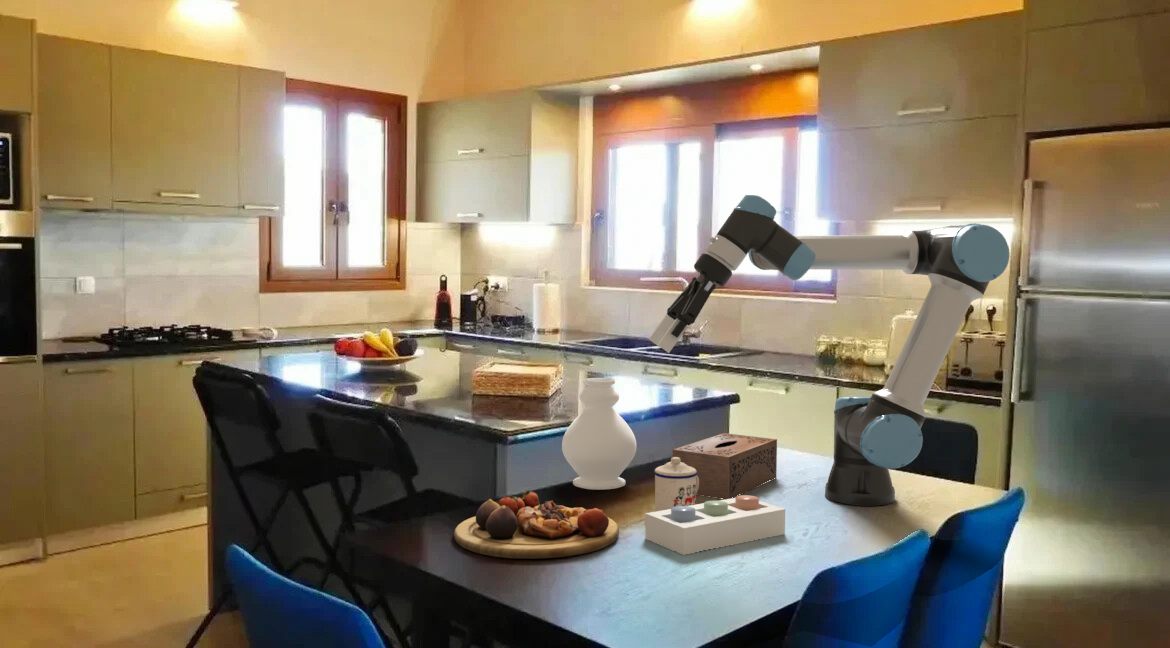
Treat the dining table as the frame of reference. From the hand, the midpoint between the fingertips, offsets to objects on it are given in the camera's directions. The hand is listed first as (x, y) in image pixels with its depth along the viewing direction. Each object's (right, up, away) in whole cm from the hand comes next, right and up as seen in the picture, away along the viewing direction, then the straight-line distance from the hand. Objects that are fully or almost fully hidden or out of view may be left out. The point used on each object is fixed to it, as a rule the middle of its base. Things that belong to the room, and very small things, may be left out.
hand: (658, 346), depth 199 cm
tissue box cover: (+19, -34, +32) cm, 50 cm away
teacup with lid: (+5, -36, +8) cm, 37 cm away
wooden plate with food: (-24, -37, -11) cm, 46 cm away
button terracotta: (+17, -34, -7) cm, 39 cm away
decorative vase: (-12, -34, +33) cm, 49 cm away
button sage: (+10, -34, -11) cm, 38 cm away
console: (+10, -37, -11) cm, 40 cm away
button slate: (+4, -35, -16) cm, 38 cm away
